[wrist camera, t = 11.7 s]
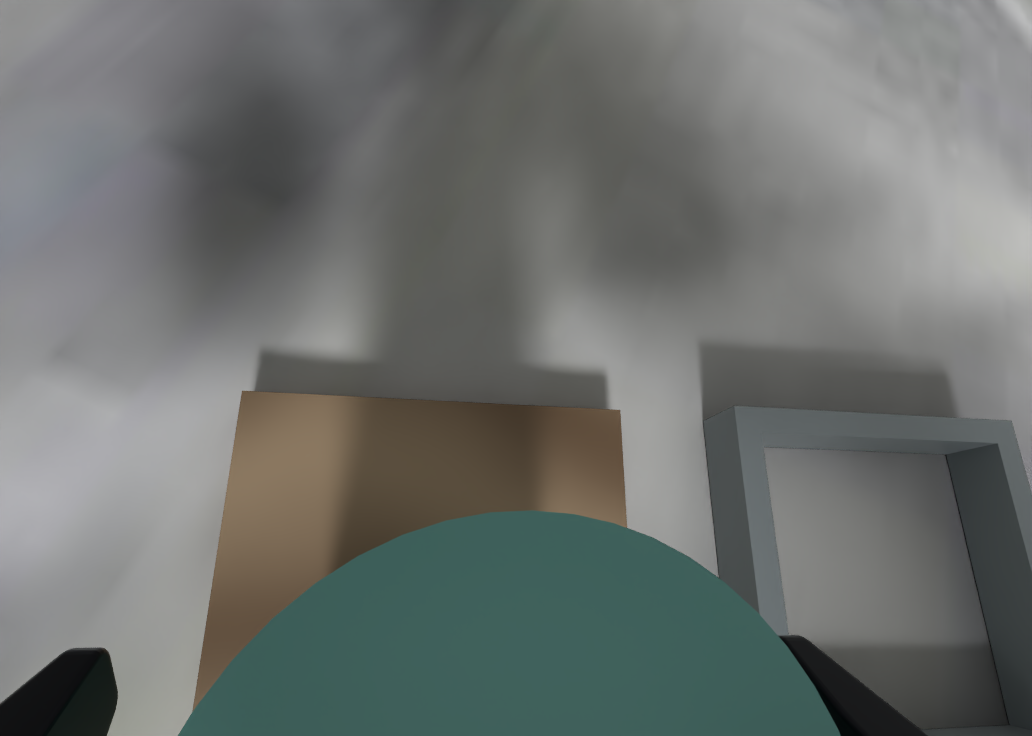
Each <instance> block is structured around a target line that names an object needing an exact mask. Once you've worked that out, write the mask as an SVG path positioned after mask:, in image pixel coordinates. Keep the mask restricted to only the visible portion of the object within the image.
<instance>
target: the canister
mask: <svg viewBox="0 0 1032 736" xmlns="http://www.w3.org/2000/svg"><path fill="white" fill-rule="evenodd" d="M178 736H841V735H840V733H839V730H838V728H837V726H836V725H835V723H834V721H833V719H832V717H831V715H830V714H829V712H828V710H827V708H826V706H825V704H824V703H823V701H822V699H821V697H820V695H819V693H818V691H817V690H816V688H815V686H814V685H813V683H812V682H811V680H810V679H809V677H808V676H807V674H806V673H805V671H804V670H803V669H802V667H801V666H800V664H799V663H798V661H797V660H796V658H795V657H794V655H793V654H792V653H791V651H790V650H789V648H788V647H787V646H786V644H785V643H784V642H783V641H782V640H781V639H780V638H779V636H778V635H777V634H776V633H775V632H774V631H773V629H772V628H771V627H770V626H769V625H768V624H767V623H766V621H765V620H764V619H763V618H762V617H761V616H760V614H759V613H758V612H757V611H756V610H755V609H753V608H752V607H751V606H750V605H749V604H748V603H747V602H746V601H745V600H744V599H743V598H741V597H740V596H739V595H738V594H737V593H736V592H735V591H734V590H733V589H732V588H730V587H729V586H728V585H727V584H726V583H725V582H724V581H722V580H721V579H719V578H718V577H717V576H715V575H714V574H712V573H711V572H710V571H708V570H707V569H705V568H704V567H703V566H701V565H700V564H698V563H697V562H695V561H694V560H693V559H691V558H690V557H688V556H686V555H684V554H682V553H680V552H679V551H677V550H675V549H673V548H671V547H669V546H667V545H666V544H664V543H662V542H660V541H658V540H656V539H654V538H652V537H649V536H647V535H644V534H641V533H639V532H636V531H634V530H631V529H628V528H626V527H623V526H620V525H618V524H615V523H611V522H606V521H602V520H598V519H593V518H589V517H585V516H580V515H576V514H568V513H556V512H545V511H534V510H529V511H509V512H489V513H484V514H478V515H473V516H468V517H462V518H457V519H451V520H446V521H443V522H440V523H437V524H434V525H431V526H428V527H425V528H422V529H419V530H416V531H412V532H409V533H406V534H403V535H401V536H399V537H397V538H395V539H392V540H390V541H388V542H386V543H384V544H382V545H380V546H378V547H376V548H374V549H371V550H369V551H367V552H365V553H363V554H361V555H359V556H357V557H356V558H354V559H352V560H351V561H349V562H348V563H346V564H345V565H343V566H341V567H340V568H338V569H337V570H335V571H334V572H332V573H331V574H329V575H327V576H326V577H324V578H323V579H321V580H320V581H318V582H316V583H315V584H314V585H312V586H311V587H310V588H309V589H308V590H306V591H305V592H304V593H303V594H301V595H300V596H299V597H298V598H297V599H295V600H294V601H293V602H292V603H291V604H289V605H288V606H287V607H286V608H284V609H283V610H282V611H281V612H280V613H278V614H277V615H276V616H275V617H273V618H272V619H271V620H270V621H269V623H268V624H267V625H266V626H265V627H264V628H263V629H262V630H261V631H260V632H259V633H258V634H257V635H256V636H255V637H254V638H253V639H252V640H251V641H250V642H249V643H248V644H247V645H246V646H245V647H244V648H243V649H242V650H241V651H240V652H239V654H238V655H237V656H236V657H235V658H234V659H233V660H232V661H231V662H230V664H229V665H228V666H227V667H226V669H225V670H224V671H223V673H222V674H221V675H220V677H219V678H218V679H217V680H216V682H215V683H214V684H213V686H212V687H211V688H210V689H209V691H208V692H207V693H206V695H205V696H204V697H203V698H202V700H201V701H200V702H199V704H198V705H197V706H196V708H195V709H194V711H193V712H192V714H191V715H190V717H189V719H188V720H187V722H186V724H185V725H184V727H183V728H182V730H181V732H180V733H179V735H178Z"/></svg>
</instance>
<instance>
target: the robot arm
mask: <svg viewBox="0 0 1032 736" xmlns="http://www.w3.org/2000/svg"><path fill="white" fill-rule="evenodd" d="M779 638H780V639H781V640H782V641H783V642H784V643H785V644H786V646H787V647H788V648H789V650H790V651H791V653H792V654H793V655H794V657H795V658H796V660H797V661H798V663H799V664H800V666H801V667H802V669H803V670H804V671H805V673H806V674H807V676H808V677H809V679H810V680H811V682H812V683H813V685H814V686H815V688H816V690H817V691H818V693H819V695H820V697H821V699H822V701H823V703H824V704H825V706H826V708H827V710H828V712H829V714H830V715H831V717H832V719H833V721H834V723H835V725H836V726H837V728H838V730H839V733H840V735H841V736H928V735H927V734H925V733H924V732H923V731H922V730H920V729H919V728H918V727H917V726H915V725H914V724H913V723H912V722H910V721H909V720H908V719H907V718H905V717H904V716H903V715H902V714H900V713H899V712H898V711H897V710H895V709H894V708H893V707H891V706H890V705H889V704H888V703H886V702H885V701H884V700H883V699H881V698H880V697H879V696H878V695H876V694H875V693H874V692H873V691H871V690H870V689H869V688H868V687H866V686H865V685H864V684H863V683H861V682H860V681H859V680H857V679H856V678H855V677H854V676H852V675H851V674H850V673H849V672H847V671H846V670H845V669H844V668H842V667H841V666H840V665H839V664H837V663H836V662H835V661H834V660H832V659H831V658H830V657H829V656H827V655H826V654H825V653H823V652H822V651H821V650H820V649H818V648H817V647H816V646H815V645H813V644H812V643H811V642H810V641H808V640H807V639H805V638H804V637H802V636H798V635H780V636H779ZM117 699H118V691H117V685H116V681H115V676H114V672H113V667H112V663H111V658H110V655H109V652H108V651H107V650H106V649H104V648H73V649H69V650H67V651H65V652H63V653H62V654H60V655H59V656H58V657H57V658H55V659H54V660H53V661H52V662H50V663H49V664H48V665H47V666H46V667H44V668H43V669H42V670H41V671H40V672H38V673H37V674H36V675H35V676H33V677H32V678H31V679H30V680H29V681H27V682H26V683H25V684H24V685H22V686H21V687H20V688H19V689H18V690H16V691H15V692H14V693H13V694H11V695H10V696H9V697H8V698H7V699H5V700H4V701H3V702H2V703H0V736H107V733H108V730H109V728H110V725H111V722H112V719H113V716H114V713H115V710H116V705H117Z"/></svg>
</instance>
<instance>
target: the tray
mask: <svg viewBox="0 0 1032 736" xmlns="http://www.w3.org/2000/svg"><path fill="white" fill-rule="evenodd" d="M703 424H704V433H705V443H706V453H707V462H708V472H709V482H710V491H711V501H712V510H713V520H714V530H715V539H716V549H717V559H718V568H719V578H720V579H721V580H722V581H724V582H725V583H726V584H727V585H728V586H729V587H730V588H732V589H733V590H734V591H735V592H736V593H737V594H738V595H739V596H740V597H741V598H743V599H744V600H745V601H746V602H747V603H748V604H749V605H750V606H751V607H752V608H753V609H755V610H756V611H757V612H758V613H759V614H760V616H761V617H762V618H763V619H764V620H765V621H766V623H767V624H768V625H769V626H770V627H771V628H772V629H773V631H774V632H775V633H776V634H777V635H778V636H780V635H789V633H788V626H787V618H786V611H785V604H784V596H783V589H782V581H781V574H780V567H779V559H778V552H777V544H776V537H775V530H774V522H773V515H772V507H771V500H770V493H769V485H768V478H767V470H766V463H765V456H764V448H763V447H779V448H804V449H828V450H852V451H876V452H900V453H924V454H946V455H947V460H948V464H949V468H950V472H951V477H952V481H953V485H954V489H955V494H956V498H957V502H958V507H959V511H960V515H961V519H962V524H963V528H964V532H965V536H966V541H967V545H968V549H969V554H970V558H971V562H972V566H973V571H974V575H975V579H976V583H977V588H978V592H979V596H980V600H981V605H982V609H983V613H984V618H985V622H986V626H987V630H988V635H989V639H990V643H991V647H992V652H993V656H994V660H995V665H996V669H997V673H998V677H999V682H1000V686H1001V690H1002V694H1003V699H1004V703H1005V707H1006V711H1007V716H1008V720H1009V724H1010V725H1001V726H982V727H963V728H945V729H926V730H922V731H923V732H924V733H925V734H927V735H928V736H1032V494H1031V490H1030V486H1029V483H1028V479H1027V475H1026V472H1025V468H1024V464H1023V461H1022V457H1021V453H1020V450H1019V446H1018V443H1017V439H1016V435H1015V432H1014V428H1013V424H1012V421H1007V420H989V419H970V418H952V417H934V416H915V415H897V414H878V413H860V412H842V411H823V410H805V409H786V408H768V407H750V406H733V407H731V408H729V409H727V410H725V411H722V412H720V413H718V414H716V415H714V416H712V417H710V418H708V419H706V420H704V421H703Z"/></svg>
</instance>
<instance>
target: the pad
mask: <svg viewBox="0 0 1032 736" xmlns="http://www.w3.org/2000/svg"><path fill="white" fill-rule="evenodd" d="M529 510H534V511H545V512H556V513H568V514H576V515H580V516H585V517H589V518H593V519H598V520H602V521H606V522H611V523H615V524H618V525H620V526H623V527H626V528H627V519H626V502H625V485H624V468H623V451H622V433H621V416H620V410H609V409H590V408H570V407H551V406H531V405H512V404H492V403H472V402H453V401H433V400H414V399H394V398H375V397H355V396H335V395H316V394H296V393H277V392H257V391H242V395H241V401H240V408H239V414H238V421H237V427H236V434H235V440H234V447H233V453H232V460H231V466H230V472H229V479H228V485H227V492H226V498H225V505H224V511H223V518H222V524H221V531H220V537H219V544H218V550H217V557H216V563H215V570H214V576H213V583H212V589H211V596H210V602H209V608H208V615H207V621H206V628H205V634H204V641H203V647H202V654H201V660H200V667H199V673H198V680H197V686H196V693H195V699H194V706H193V711H194V709H195V708H196V706H197V705H198V704H199V702H200V701H201V700H202V698H203V697H204V696H205V695H206V693H207V692H208V691H209V689H210V688H211V687H212V686H213V684H214V683H215V682H216V680H217V679H218V678H219V677H220V675H221V674H222V673H223V671H224V670H225V669H226V667H227V666H228V665H229V664H230V662H231V661H232V660H233V659H234V658H235V657H236V656H237V655H238V654H239V652H240V651H241V650H242V649H243V648H244V647H245V646H246V645H247V644H248V643H249V642H250V641H251V640H252V639H253V638H254V637H255V636H256V635H257V634H258V633H259V632H260V631H261V630H262V629H263V628H264V627H265V626H266V625H267V624H268V623H269V621H270V620H271V619H272V618H273V617H275V616H276V615H277V614H278V613H280V612H281V611H282V610H283V609H284V608H286V607H287V606H288V605H289V604H291V603H292V602H293V601H294V600H295V599H297V598H298V597H299V596H300V595H301V594H303V593H304V592H305V591H306V590H308V589H309V588H310V587H311V586H312V585H314V584H315V583H316V582H318V581H320V580H321V579H323V578H324V577H326V576H327V575H329V574H331V573H332V572H334V571H335V570H337V569H338V568H340V567H341V566H343V565H345V564H346V563H348V562H349V561H351V560H352V559H354V558H356V557H357V556H359V555H361V554H363V553H365V552H367V551H369V550H371V549H374V548H376V547H378V546H380V545H382V544H384V543H386V542H388V541H390V540H392V539H395V538H397V537H399V536H401V535H403V534H406V533H409V532H412V531H416V530H419V529H422V528H425V527H428V526H431V525H434V524H437V523H440V522H443V521H446V520H451V519H457V518H462V517H468V516H473V515H478V514H484V513H489V512H509V511H529Z"/></svg>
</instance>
